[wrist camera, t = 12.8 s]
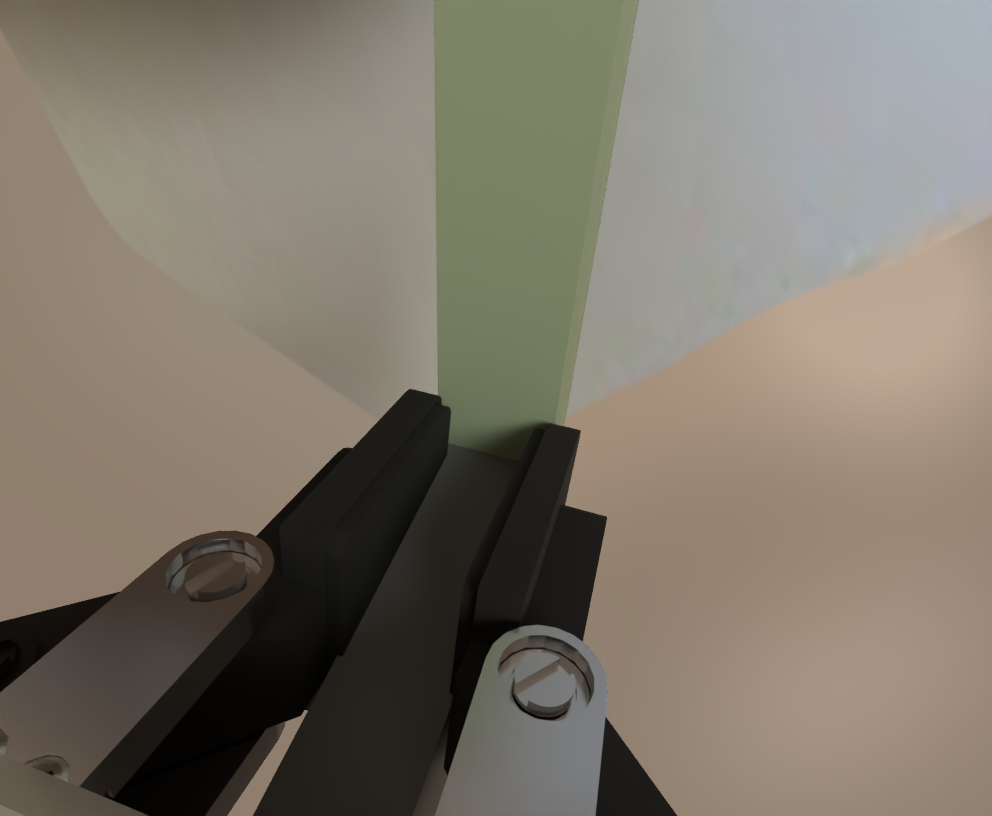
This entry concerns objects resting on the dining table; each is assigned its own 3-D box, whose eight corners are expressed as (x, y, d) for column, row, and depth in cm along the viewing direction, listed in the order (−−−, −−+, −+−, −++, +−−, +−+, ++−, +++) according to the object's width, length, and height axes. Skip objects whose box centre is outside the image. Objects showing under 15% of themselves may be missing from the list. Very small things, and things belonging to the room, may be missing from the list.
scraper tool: (655, -98, 7) (-24, -5, 1) (549, 510, 14) (400, 996, 8) (483, -112, 7) (-902, -126, 1) (464, 488, 14) (258, 934, 8)
